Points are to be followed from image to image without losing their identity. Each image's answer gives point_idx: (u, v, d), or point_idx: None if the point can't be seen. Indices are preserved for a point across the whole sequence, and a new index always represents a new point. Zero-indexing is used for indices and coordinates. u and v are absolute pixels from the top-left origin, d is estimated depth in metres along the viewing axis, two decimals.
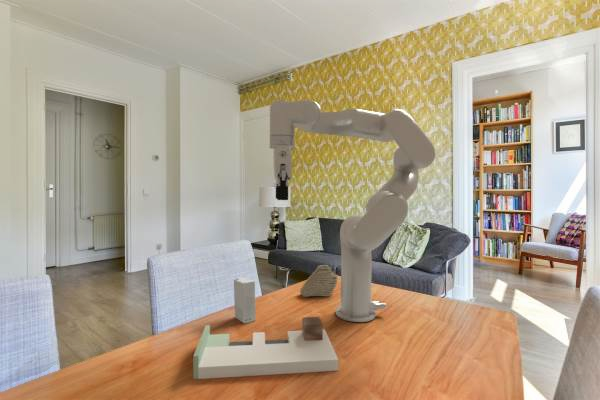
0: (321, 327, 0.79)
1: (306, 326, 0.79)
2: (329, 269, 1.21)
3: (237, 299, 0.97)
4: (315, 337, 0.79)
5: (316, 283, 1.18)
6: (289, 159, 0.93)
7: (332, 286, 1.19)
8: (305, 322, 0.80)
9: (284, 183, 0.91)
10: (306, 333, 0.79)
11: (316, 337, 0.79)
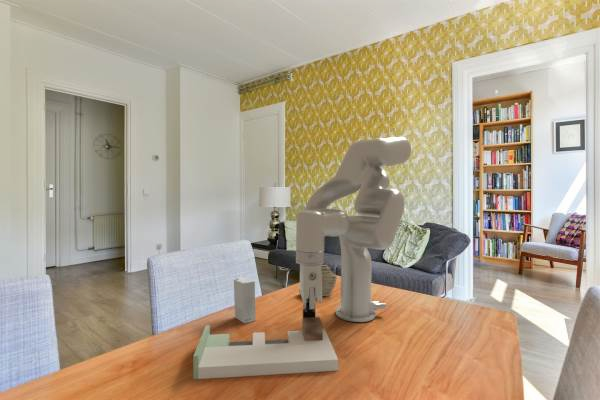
0: (321, 327, 0.79)
1: (306, 326, 0.79)
2: (328, 269, 1.21)
3: (237, 299, 0.97)
4: (315, 337, 0.79)
5: None
6: (319, 281, 0.80)
7: (331, 286, 1.19)
8: (305, 322, 0.80)
9: (311, 310, 0.83)
10: (306, 333, 0.79)
11: (316, 337, 0.79)
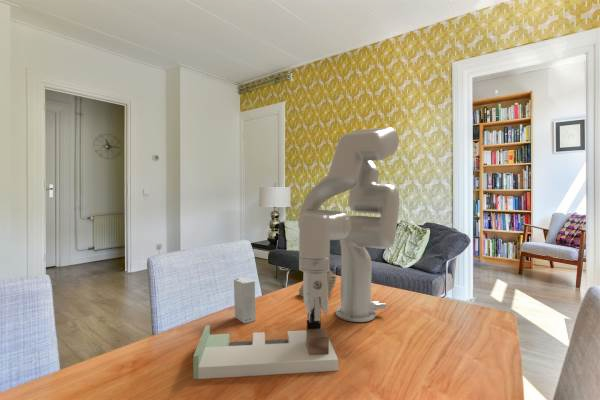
0: (327, 340, 0.72)
1: (311, 339, 0.72)
2: None
3: (237, 299, 0.97)
4: (320, 351, 0.72)
5: None
6: (325, 290, 0.74)
7: (331, 286, 1.19)
8: (309, 335, 0.73)
9: (316, 321, 0.76)
10: (311, 347, 0.72)
11: (321, 351, 0.72)
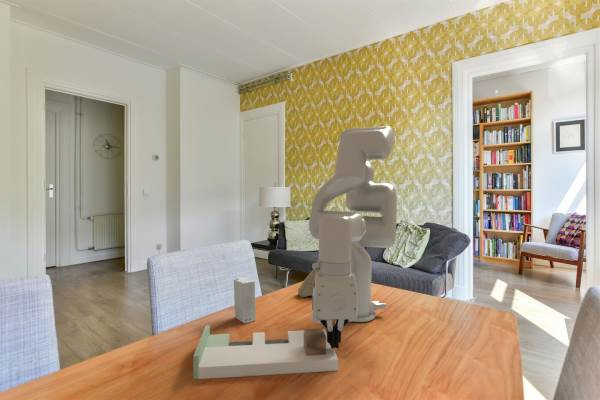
0: (324, 340, 0.72)
1: (308, 340, 0.72)
2: None
3: (237, 299, 0.97)
4: (318, 351, 0.72)
5: None
6: (315, 293, 0.71)
7: None
8: (307, 335, 0.73)
9: None
10: (308, 347, 0.72)
11: (319, 351, 0.72)
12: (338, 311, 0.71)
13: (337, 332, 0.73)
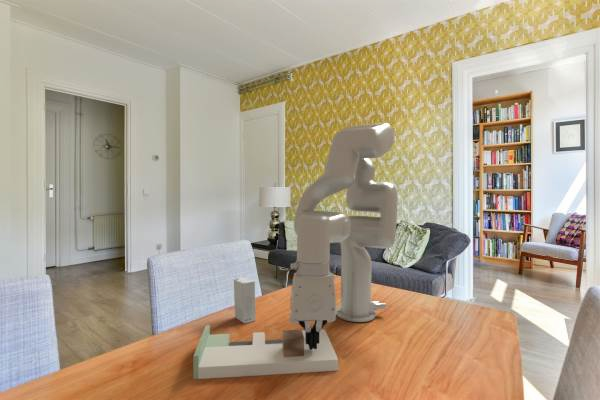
0: (302, 342, 0.71)
1: (286, 341, 0.71)
2: None
3: (237, 299, 0.97)
4: (296, 353, 0.71)
5: None
6: (293, 294, 0.71)
7: None
8: (285, 336, 0.72)
9: None
10: (286, 349, 0.71)
11: (297, 353, 0.71)
12: (316, 312, 0.71)
13: (315, 333, 0.72)
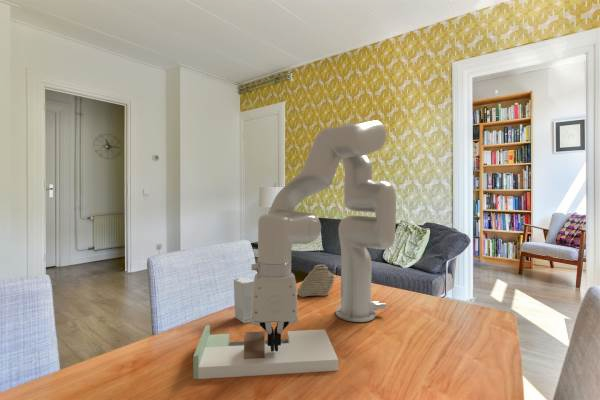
0: (263, 344, 0.70)
1: (246, 342, 0.70)
2: (326, 268, 1.22)
3: (237, 299, 0.97)
4: (256, 355, 0.70)
5: (314, 283, 1.18)
6: (252, 295, 0.70)
7: (329, 285, 1.20)
8: (246, 338, 0.71)
9: None
10: (246, 350, 0.70)
11: (257, 355, 0.70)
12: (276, 313, 0.70)
13: (276, 335, 0.71)
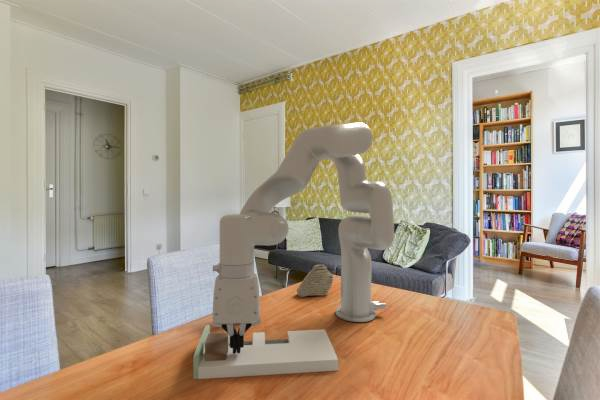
0: (224, 346, 0.69)
1: (207, 345, 0.69)
2: (325, 268, 1.22)
3: None
4: (217, 357, 0.69)
5: (313, 283, 1.18)
6: (213, 297, 0.69)
7: (328, 285, 1.20)
8: (207, 340, 0.70)
9: None
10: (207, 353, 0.69)
11: (218, 357, 0.69)
12: (237, 315, 0.69)
13: (238, 337, 0.70)
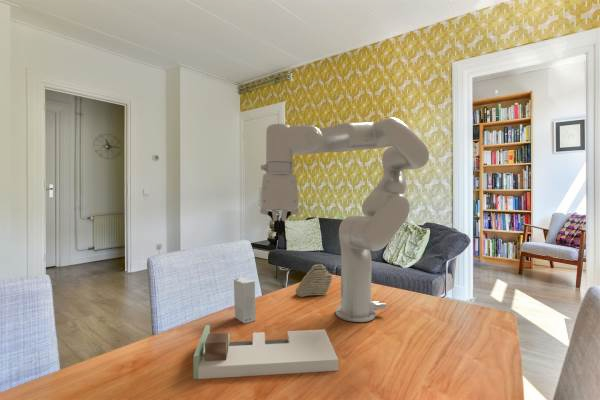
0: (224, 346, 0.69)
1: (207, 345, 0.69)
2: (324, 268, 1.22)
3: (237, 299, 0.97)
4: (217, 357, 0.69)
5: (312, 282, 1.18)
6: (262, 188, 0.87)
7: (327, 285, 1.21)
8: (207, 340, 0.70)
9: (271, 217, 0.89)
10: (207, 352, 0.69)
11: (219, 357, 0.69)
12: (281, 202, 0.87)
13: (281, 221, 0.88)
